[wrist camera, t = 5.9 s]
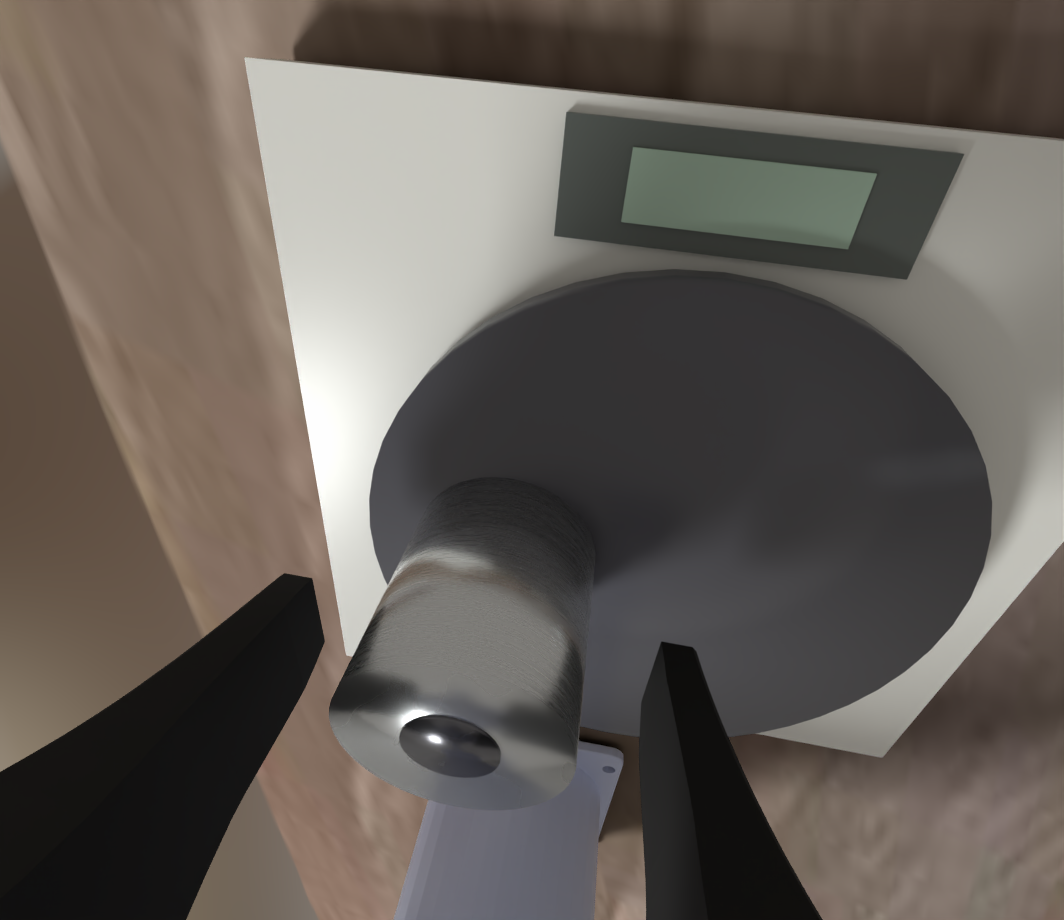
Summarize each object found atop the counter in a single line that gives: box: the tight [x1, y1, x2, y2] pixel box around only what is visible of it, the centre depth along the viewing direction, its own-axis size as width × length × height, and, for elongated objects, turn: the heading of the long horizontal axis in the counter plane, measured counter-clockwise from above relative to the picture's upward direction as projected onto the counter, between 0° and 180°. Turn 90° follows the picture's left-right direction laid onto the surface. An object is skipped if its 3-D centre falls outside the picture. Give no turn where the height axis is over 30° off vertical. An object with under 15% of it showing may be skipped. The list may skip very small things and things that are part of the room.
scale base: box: [244, 57, 1064, 758], centre depth 14 cm, size 17×18×2 cm
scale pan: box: [369, 269, 992, 737], centre depth 14 cm, size 14×14×1 cm
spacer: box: [329, 477, 595, 810], centre depth 12 cm, size 4×4×5 cm
